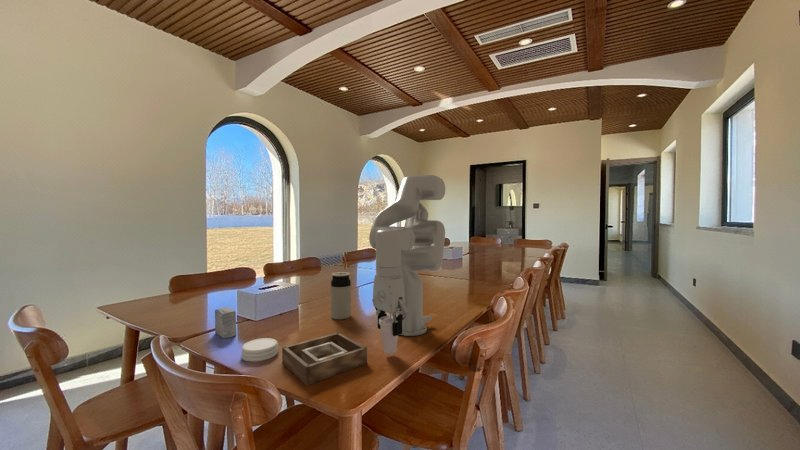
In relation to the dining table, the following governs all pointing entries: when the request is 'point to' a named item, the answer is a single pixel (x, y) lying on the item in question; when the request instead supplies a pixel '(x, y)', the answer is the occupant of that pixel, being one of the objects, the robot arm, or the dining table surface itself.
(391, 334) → the smoothie
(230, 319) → the medicine box
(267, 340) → the coaster
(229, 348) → the dining table surface
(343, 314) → the travel mug
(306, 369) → the walnut box
